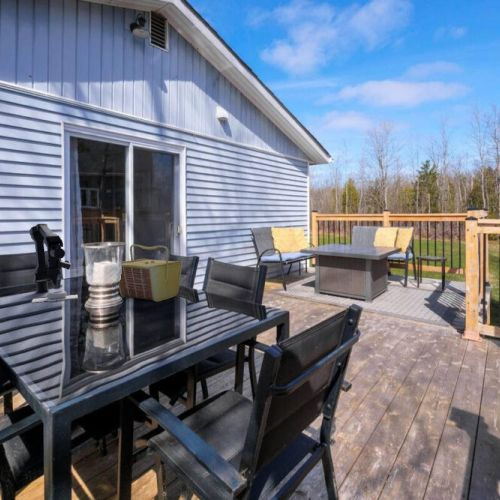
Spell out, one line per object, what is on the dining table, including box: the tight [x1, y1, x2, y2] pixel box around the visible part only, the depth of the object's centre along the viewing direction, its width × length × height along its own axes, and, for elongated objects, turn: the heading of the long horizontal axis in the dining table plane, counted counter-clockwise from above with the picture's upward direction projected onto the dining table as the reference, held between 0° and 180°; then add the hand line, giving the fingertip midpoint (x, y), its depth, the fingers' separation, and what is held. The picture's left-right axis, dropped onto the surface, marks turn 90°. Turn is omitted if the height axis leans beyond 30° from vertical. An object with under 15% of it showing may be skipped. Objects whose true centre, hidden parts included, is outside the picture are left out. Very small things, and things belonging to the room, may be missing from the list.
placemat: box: [31, 294, 79, 304], centre depth 189 cm, size 8×22×1 cm, turn 118°
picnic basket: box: [118, 243, 183, 303], centre depth 193 cm, size 29×26×30 cm
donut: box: [46, 290, 68, 299], centre depth 190 cm, size 10×4×10 cm
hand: (55, 284), depth 192 cm, fingers closed
